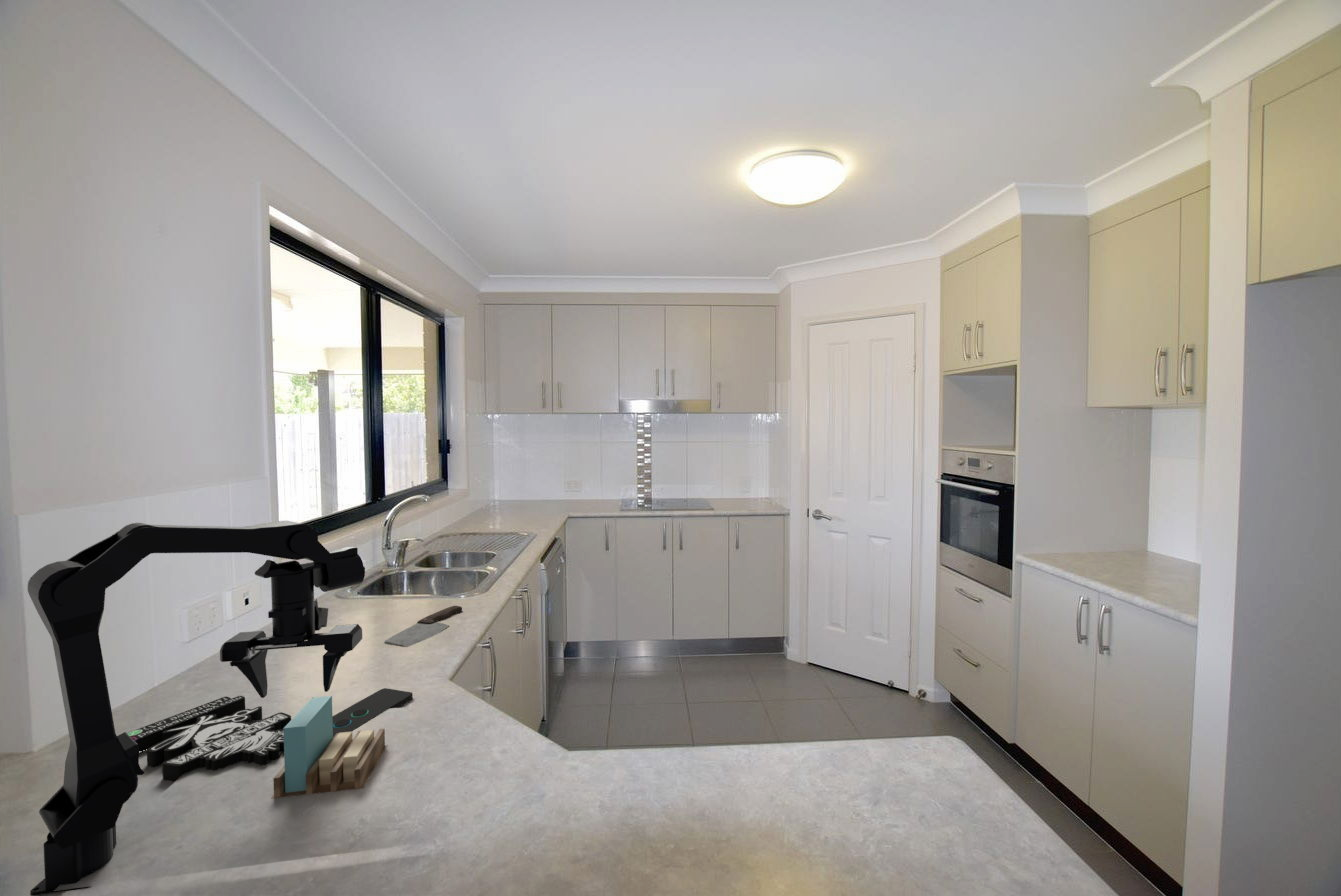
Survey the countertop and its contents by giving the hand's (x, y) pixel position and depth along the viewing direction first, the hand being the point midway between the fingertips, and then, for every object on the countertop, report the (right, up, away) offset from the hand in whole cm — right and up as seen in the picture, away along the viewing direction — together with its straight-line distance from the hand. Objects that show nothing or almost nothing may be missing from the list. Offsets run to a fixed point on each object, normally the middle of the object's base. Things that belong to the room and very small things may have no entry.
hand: (296, 693), depth 92 cm
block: (+3, -12, -1) cm, 13 cm away
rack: (+6, -13, 0) cm, 15 cm away
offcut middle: (+7, -12, 0) cm, 14 cm away
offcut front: (+10, -12, 0) cm, 16 cm away
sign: (-19, -14, +8) cm, 25 cm away
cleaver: (-7, -12, +69) cm, 71 cm away
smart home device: (0, -13, +18) cm, 22 cm away
